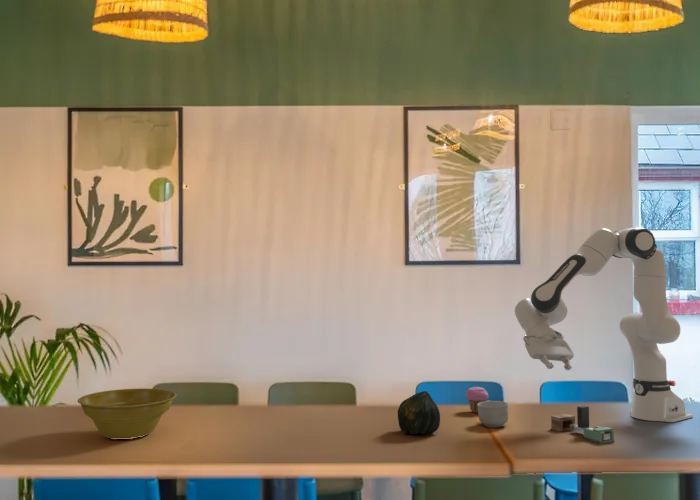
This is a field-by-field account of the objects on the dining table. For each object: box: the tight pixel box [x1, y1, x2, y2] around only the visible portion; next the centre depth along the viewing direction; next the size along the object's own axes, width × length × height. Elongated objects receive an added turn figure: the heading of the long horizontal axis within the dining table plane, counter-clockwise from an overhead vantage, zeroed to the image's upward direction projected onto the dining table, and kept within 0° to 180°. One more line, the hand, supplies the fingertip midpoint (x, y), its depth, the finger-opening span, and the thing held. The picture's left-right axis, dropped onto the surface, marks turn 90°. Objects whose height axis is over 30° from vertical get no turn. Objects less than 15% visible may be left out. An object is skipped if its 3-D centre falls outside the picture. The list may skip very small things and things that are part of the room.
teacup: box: [477, 399, 509, 428], centre depth 230 cm, size 14×11×8 cm
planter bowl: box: [77, 388, 177, 438], centre depth 219 cm, size 32×32×13 cm
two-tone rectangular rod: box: [569, 405, 610, 440], centre depth 211 cm, size 3×15×9 cm, turn 23°
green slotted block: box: [583, 425, 615, 444], centre depth 207 cm, size 6×7×4 cm
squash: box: [397, 390, 441, 436], centre depth 219 cm, size 14×15×15 cm
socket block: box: [550, 413, 576, 432], centre depth 222 cm, size 7×4×4 cm, turn 113°
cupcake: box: [465, 386, 489, 414], centre depth 251 cm, size 9×9×10 cm
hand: (560, 368), depth 224 cm, fingers open, 8 cm apart
